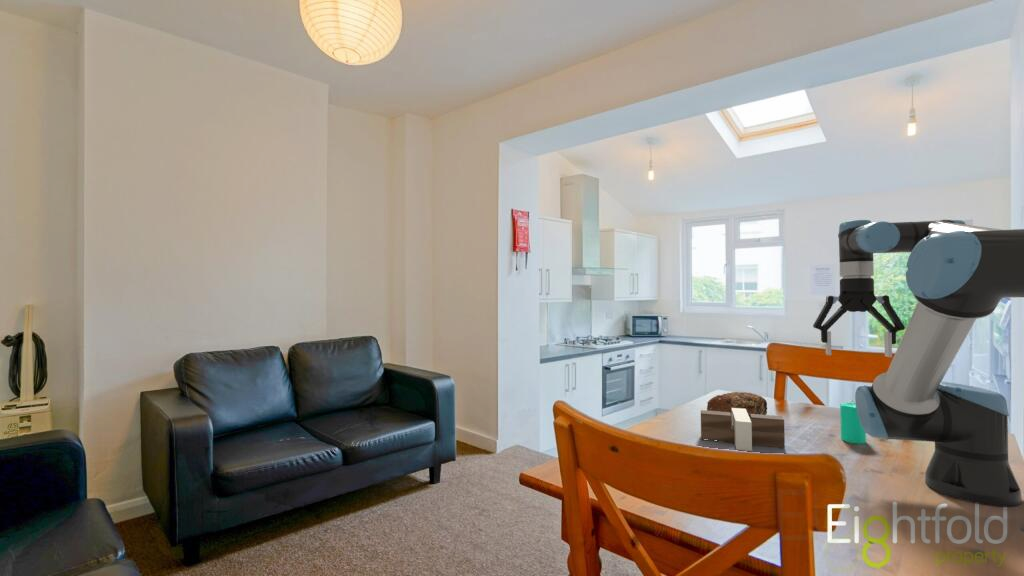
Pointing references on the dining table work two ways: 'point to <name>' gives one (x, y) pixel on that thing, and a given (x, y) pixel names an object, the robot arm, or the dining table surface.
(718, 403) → the bread
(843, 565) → the dining table surface
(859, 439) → the candle
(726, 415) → the walnut rail
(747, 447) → the cream bar
